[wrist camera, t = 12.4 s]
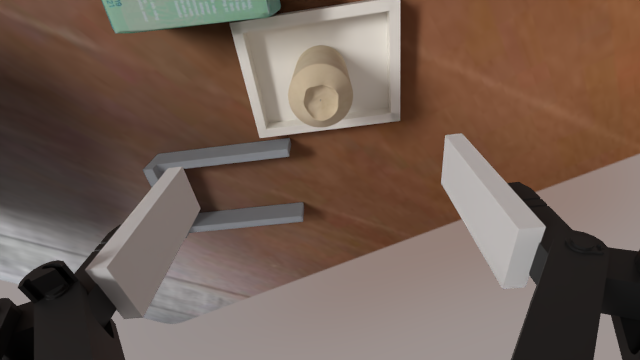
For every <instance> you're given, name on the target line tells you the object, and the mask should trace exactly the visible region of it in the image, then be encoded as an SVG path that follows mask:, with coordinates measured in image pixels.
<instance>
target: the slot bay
mask: <svg viewBox="0 0 640 360" xmlns="http://www.w3.org/2000/svg"><path fill="white" fill-rule="evenodd" d="M290 149H291V142H290V138H284V139H276V140H268V141H260V142H252V143H243V144H235V145H227V146H219V147H211V148H203V149H194V150H186V151H178V152H170V153H162V154H157V155H156V156H155V158H154V159H153V160H152V161H151V162H150V163H149V164H148V165H147V166H146V167H145V168H144V169H143V172H144V174H145V176H146V178H147V179H148V181H149V183H150V185H151V187H153V186H154V185H155V183H156V182H157V181H158V180H159V179H160V177H161V176H162V175H163V174H164V172H165V171H166V170H167V169H168V168H174V167H183V169H187V168H195V167H204V166H213V165H221V164H230V163H238V162H247V161H255V160H264V159H272V158H281V157H289V154H290ZM303 217H304V204H303V202H300V203H290V204H281V205H271V206H262V207H252V208H242V209H233V210H223V211H214V212H204V213H198V215H197V217H196V219H195V220H194V222H193V224H192V226H191V228H190V230H189V232H188V234H189V233H192V232H202V231H213V230H223V229H233V228H243V227H253V226H263V225H273V224H283V223H293V222H303ZM188 234H187V236H188ZM187 236H186V237H185V238H187Z"/></svg>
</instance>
